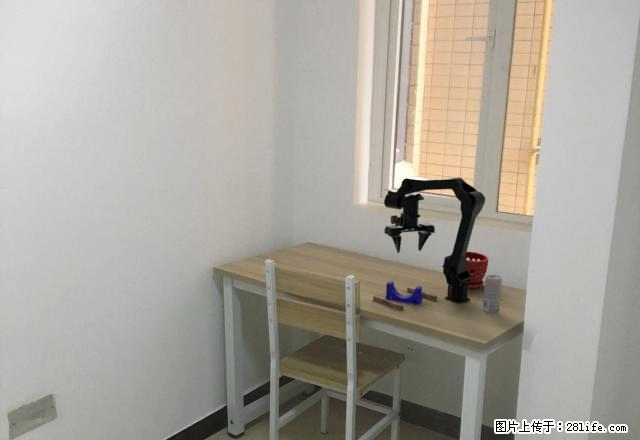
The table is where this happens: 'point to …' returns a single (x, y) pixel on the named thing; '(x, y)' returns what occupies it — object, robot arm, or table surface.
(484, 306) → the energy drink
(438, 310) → the table surface
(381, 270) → the table surface
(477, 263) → the plant pot
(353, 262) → the table surface
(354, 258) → the table surface
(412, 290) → the brown wooden bars
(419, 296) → the cable clip
